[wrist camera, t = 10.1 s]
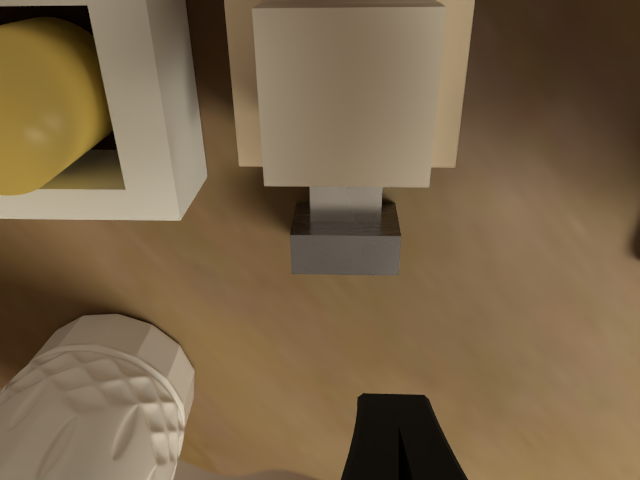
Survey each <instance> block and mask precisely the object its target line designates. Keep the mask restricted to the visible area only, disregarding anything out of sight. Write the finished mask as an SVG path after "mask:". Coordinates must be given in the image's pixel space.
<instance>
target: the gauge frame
mask: <svg viewBox="0 0 640 480" xmlns="http://www.w3.org/2000/svg"><path fill="white" fill-rule="evenodd" d="M73 5H87V6H88V11H89V16H90V20H91V25H92V30H93V35H94V40H95V45H96V49H97V54H98V59H99V64H100V69H101V73H102V78H103V83H104V88H105V93H106V98H107V102H108V107H109V112H110V117H111V122H112V127H113V131H114V136H115V141H116V146H117V150H88V151H87V152H86V153H85V154H83V155H82V156H81V157H80V158H78V159H77V160H76V161H74V162H73V163H72V164H71V165H69V166H68V167H67V168H65V169H64V170H63V171H62V172H60V173H59V174H58V175H57V176H55V177H54V178H53V179H51V180H50V181H49V182H48V183H46V184H45V185H44V186H42V187H41V188H39V189H37V190H35V191H32V192H29V193H26V194H21V195H12V196H5V195H0V219H79V220H176V221H180V220H181V219H182V217H183V216H184V214H185V212H186V211H187V209H188V207H189V206H190V204H191V203H192V201H193V199H194V198H195V196H196V194H197V193H198V191H199V190H200V188H201V186H202V185H203V183H204V181H205V180H206V178H207V169H206V161H205V153H204V145H203V137H202V129H201V121H200V113H199V105H198V97H197V89H196V81H195V73H194V65H193V57H192V49H191V41H190V33H189V25H188V17H187V9H186V0H0V6H73Z"/></svg>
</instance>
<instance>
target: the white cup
mask: <svg viewBox="0 0 640 480" xmlns="http://www.w3.org/2000/svg"><path fill="white" fill-rule="evenodd" d="M193 398H194V369H193V367H192V365H191V364H190V362H189V360H188V358H187V357H186V355H185V353H184V351H183V350H182V348H181V346H180V345H179V344H178V343H177V342H175V341H174V340H172V339H171V338H170V337H169V336H167V335H166V334H165V333H163V332H162V331H161V330H159V329H158V328H156V327H155V326H154V325H152V324H149V323H146V322H143V321H140V320H137V319H133V318H130V317H127V316H124V315H120V314H101V315H84V316H81V317H79V318H78V319H76V320H74V321H72V322H70V323H68V324H67V325H65V326H63V327H61V328H59V329H57V330H56V331H55V332H54V334H53V335H52V336H51V337H50V338H49V339H48V341H47V342H46V343H45V344H44V345H43V347H42V348H41V349H40V350H39V351H38V353H37V354H36V355H35V356H34V357H33V359H32V360H31V361H30V362H29V364H28V365H27V366H26V367H24V368H23V369H22V370H21V371H20V372H19V373H18V374H17V375H16V376H14V377H13V378H12V379H11V380H10V381H9V382H8V383H7V384H6V385H5V387H4V388H3V389H2V390H1V391H0V480H174V476H175V470H176V466H177V463H178V460H179V456H180V452H181V448H182V443H183V438H184V429H185V426H186V422H187V419H188V415H189V412H190V409H191V405H192V402H193Z"/></svg>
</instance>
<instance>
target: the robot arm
mask: <svg viewBox="0 0 640 480" xmlns="http://www.w3.org/2000/svg"><path fill="white" fill-rule="evenodd" d="M341 480H468V479H467V477H466V475H465V474H464V472H463V470H462V468H461V466H460V465H459V463H458V461H457V459H456V457H455V455H454V453H453V451H452V449H451V447H450V445H449V444H448V442H447V440H446V438H445V436H444V433H443V431H442V429H441V427H440V425H439V423H438V421H437V418H436V416H435V414H434V411H433V409H432V406H431V404H430V401H429V399H428V398H427V397H426V396H425V395H406V394H366V393H363V394H362V395H360V396H359V397H358V402H357V416H356V423H355V429H354V434H353V438H352V442H351V446H350V451H349V454H348V458H347V461H346V464H345V468H344V471H343V474H342V478H341Z"/></svg>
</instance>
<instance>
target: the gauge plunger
mask: <svg viewBox="0 0 640 480" xmlns="http://www.w3.org/2000/svg"><path fill="white" fill-rule="evenodd" d="M112 131H113V127H112V122H111V117H110V112H109V107H108V102H107V98H106V93H105V88H104V83H103V78H102V73H101V69H100V64H99V59H98V54H97V49H96V45H95V40H94V36H93V35H91V34H90V33H89V32H88V31H86V30H84V29H83V28H81V27H80V26H78V25H76V24H74V23H71V22H69V21H66V20H63V19H59V18H54V17H35V18H30V19H26V20H21V21H17V22H13V23H8V24H4V25H0V195H5V196H12V195H21V194H26V193H29V192H32V191H35V190H37V189H39V188H41V187H42V186H44V185H45V184H46V183H48V182H49V181H50V180H51V179H53V178H54V177H55V176H57V175H58V174H59V173H60V172H62V171H63V170H64V169H65V168H67V167H68V166H69V165H71V164H72V163H73V162H74V161H76V160H77V159H78V158H80V157H81V156H82V155H83V154H85V153H86V152H87V151H88V150H90V149H91V148H92V147H94V146H95V145H96V144H97V143H99V142H100V141H101V140H103V139H104V138H105V137H106V136H108V135H109V134H110V133H111V132H112Z"/></svg>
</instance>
